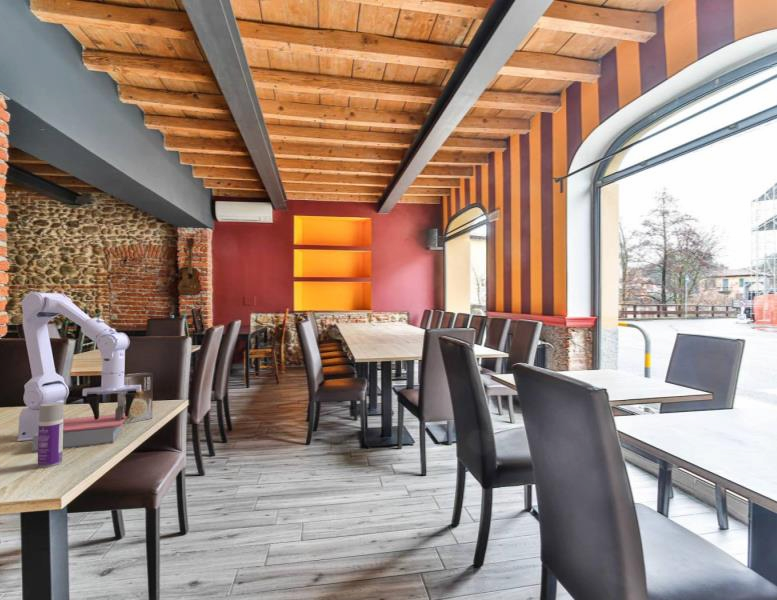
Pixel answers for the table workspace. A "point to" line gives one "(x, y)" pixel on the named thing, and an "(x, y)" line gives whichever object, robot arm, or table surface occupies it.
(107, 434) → the carton
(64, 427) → the lid
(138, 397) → the coffee box
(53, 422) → the container
